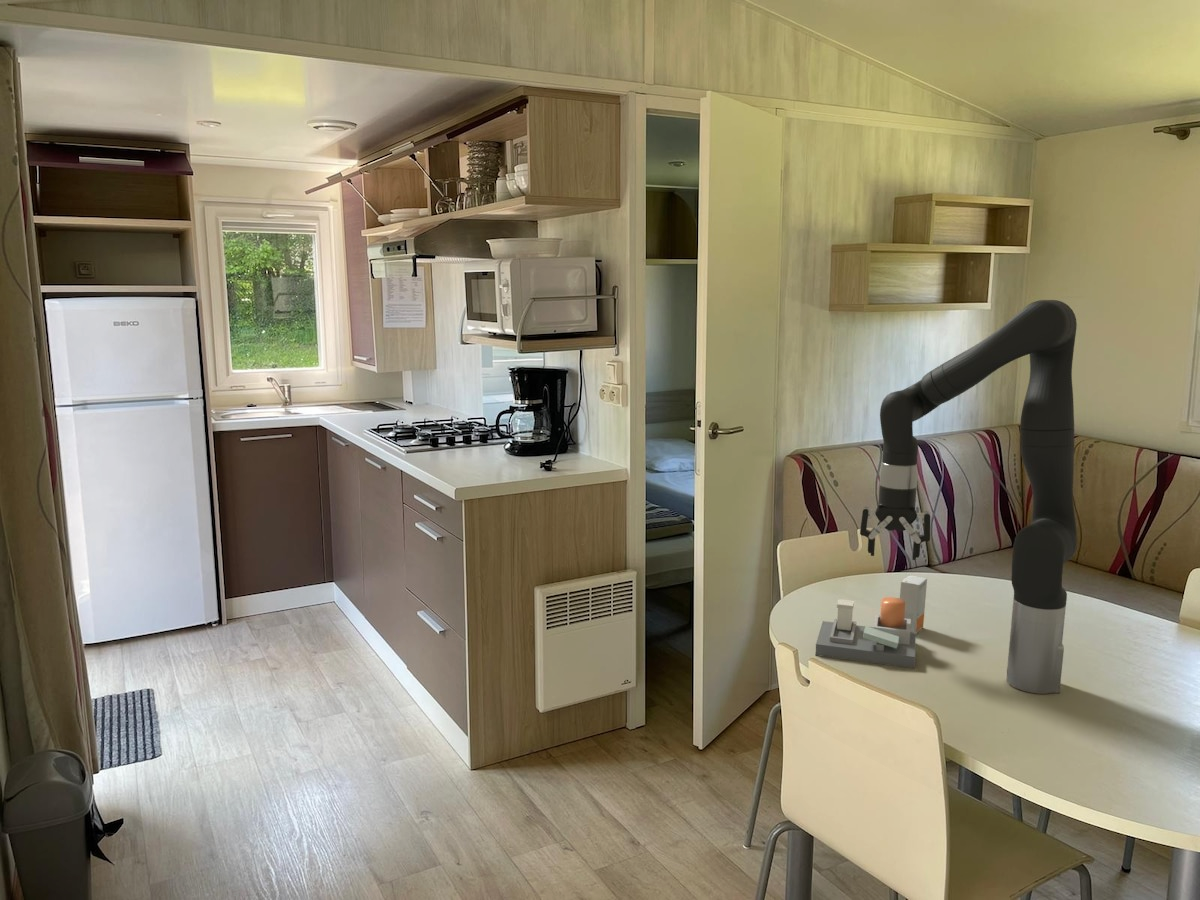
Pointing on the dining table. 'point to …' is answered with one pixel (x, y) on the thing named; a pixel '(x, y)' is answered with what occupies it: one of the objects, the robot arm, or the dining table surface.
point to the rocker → (881, 637)
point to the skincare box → (914, 600)
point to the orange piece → (892, 612)
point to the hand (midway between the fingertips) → (893, 557)
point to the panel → (867, 644)
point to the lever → (845, 614)
